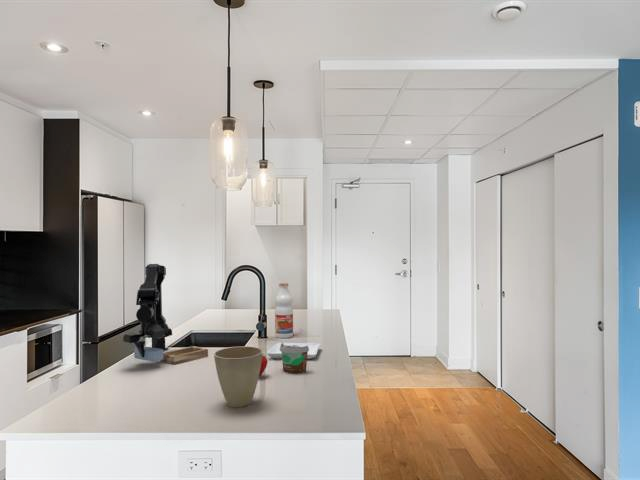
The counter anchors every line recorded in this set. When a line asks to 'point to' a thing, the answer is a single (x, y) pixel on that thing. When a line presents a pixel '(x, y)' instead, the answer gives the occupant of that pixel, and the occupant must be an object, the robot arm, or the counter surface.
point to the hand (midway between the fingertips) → (148, 356)
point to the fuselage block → (149, 354)
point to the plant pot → (238, 373)
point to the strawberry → (263, 364)
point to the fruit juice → (283, 313)
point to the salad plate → (277, 353)
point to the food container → (294, 358)
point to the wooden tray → (184, 355)
